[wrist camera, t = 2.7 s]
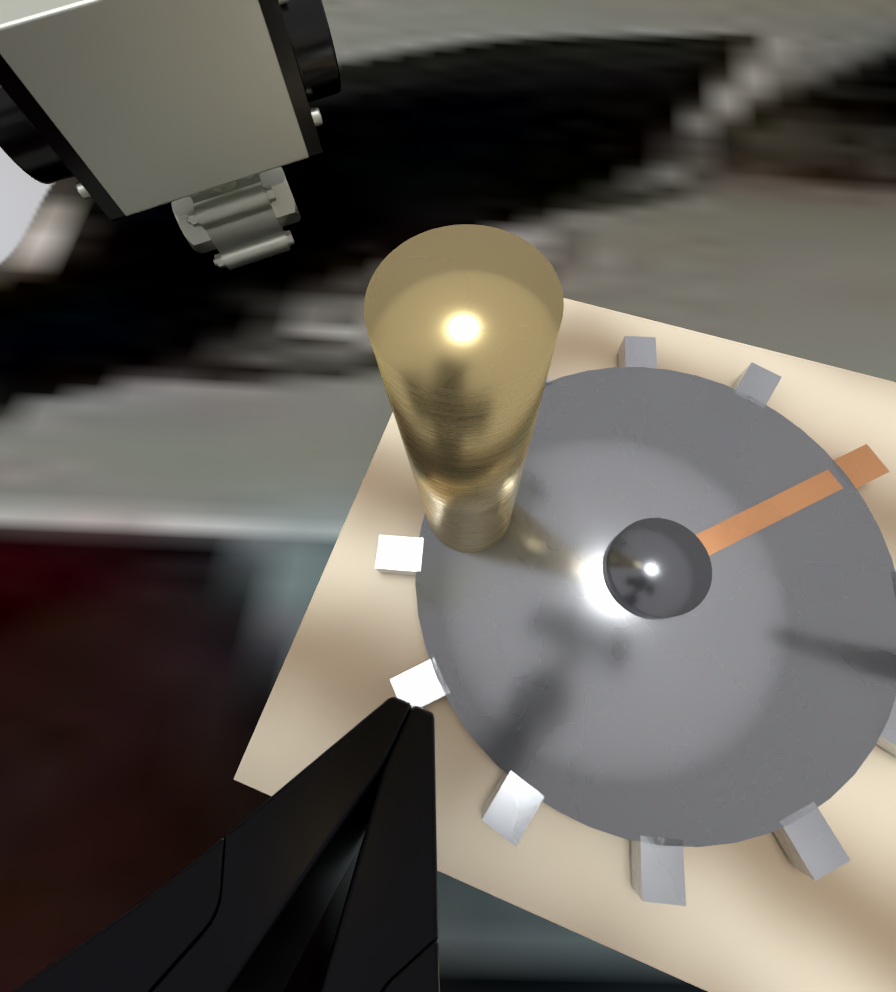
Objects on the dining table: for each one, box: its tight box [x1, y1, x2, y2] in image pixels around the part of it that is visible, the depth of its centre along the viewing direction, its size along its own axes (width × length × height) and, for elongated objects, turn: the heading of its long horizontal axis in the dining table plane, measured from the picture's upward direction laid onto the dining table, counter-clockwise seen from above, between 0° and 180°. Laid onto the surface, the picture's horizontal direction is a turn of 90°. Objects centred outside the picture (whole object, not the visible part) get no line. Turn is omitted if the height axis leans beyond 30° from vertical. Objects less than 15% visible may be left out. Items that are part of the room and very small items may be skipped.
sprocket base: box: [234, 298, 896, 992], centre depth 18 cm, size 22×22×3 cm
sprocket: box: [364, 224, 896, 906], centre depth 12 cm, size 18×18×12 cm
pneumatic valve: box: [0, 0, 341, 270], centre depth 20 cm, size 6×12×12 cm, turn 111°
